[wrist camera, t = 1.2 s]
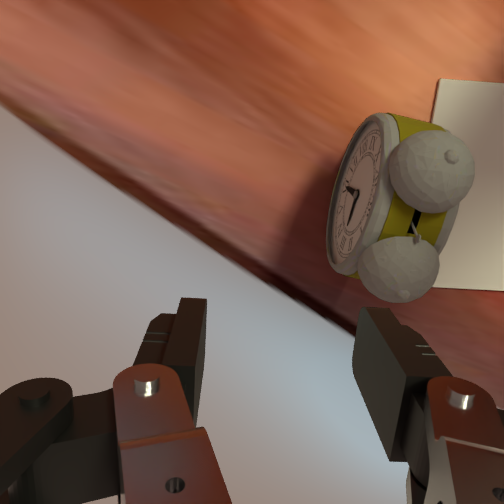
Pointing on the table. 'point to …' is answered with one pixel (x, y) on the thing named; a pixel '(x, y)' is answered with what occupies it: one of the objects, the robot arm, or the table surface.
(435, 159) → the alarm clock
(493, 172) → the white paper sheet
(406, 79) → the table surface
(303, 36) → the table surface
